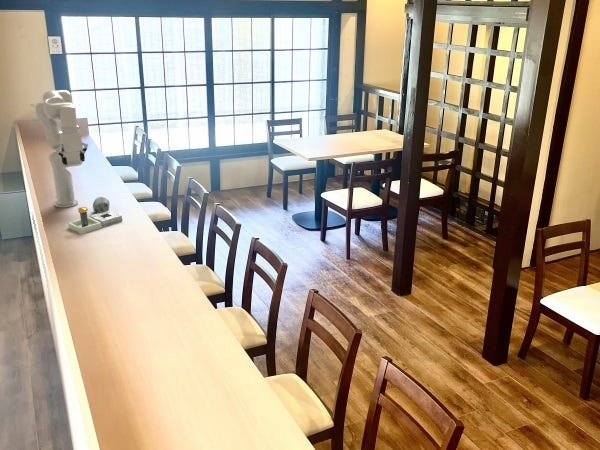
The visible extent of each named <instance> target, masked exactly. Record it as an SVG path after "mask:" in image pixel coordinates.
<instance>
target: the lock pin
mask: <svg viewBox="0 0 600 450" xmlns="http://www.w3.org/2000/svg"><path fill="white" fill-rule="evenodd" d="M77 209H78V211H77V212H78V213H79V216H80V217H79V218H80V219H81V225H82V227H85V226H89V225H88V217H89V216H88V211H89V208H88V207H86V206H84V207H83V206H82V207H79V208H77Z"/></svg>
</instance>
